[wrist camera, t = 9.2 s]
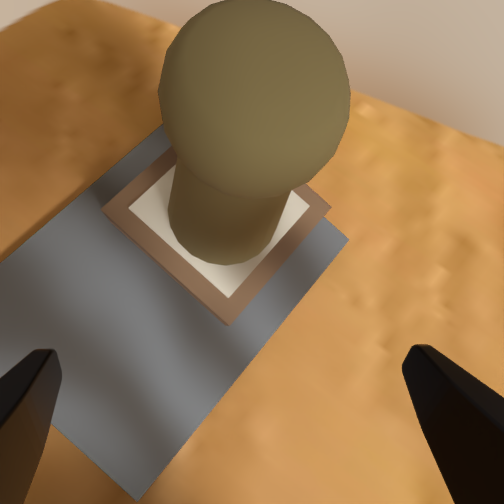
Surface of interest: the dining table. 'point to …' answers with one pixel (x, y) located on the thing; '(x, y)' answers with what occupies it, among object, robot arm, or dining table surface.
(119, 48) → the dining table surface
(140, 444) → the build base
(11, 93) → the dining table surface
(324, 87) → the olive pawn piece
